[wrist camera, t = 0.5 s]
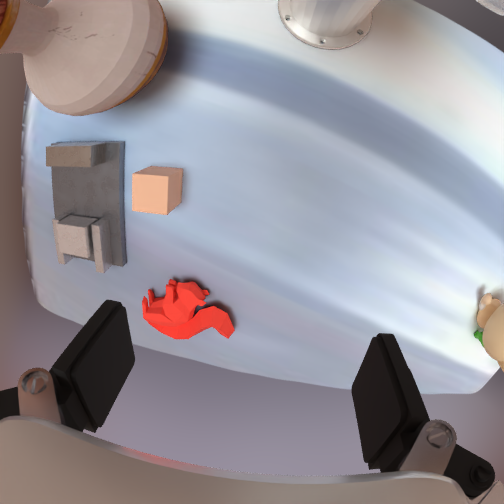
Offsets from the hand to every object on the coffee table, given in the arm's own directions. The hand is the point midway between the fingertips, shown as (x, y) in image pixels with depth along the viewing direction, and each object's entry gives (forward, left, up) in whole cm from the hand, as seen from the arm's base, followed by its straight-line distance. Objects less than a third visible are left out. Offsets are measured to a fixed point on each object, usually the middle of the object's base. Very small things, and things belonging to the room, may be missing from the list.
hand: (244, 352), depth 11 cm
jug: (-17, -23, -33) cm, 43 cm away
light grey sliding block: (+11, -29, -31) cm, 44 cm away
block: (+3, -15, -33) cm, 36 cm away
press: (+7, -29, -33) cm, 44 cm away
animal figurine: (+23, -10, -33) cm, 41 cm away
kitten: (+17, +47, -33) cm, 60 cm away
